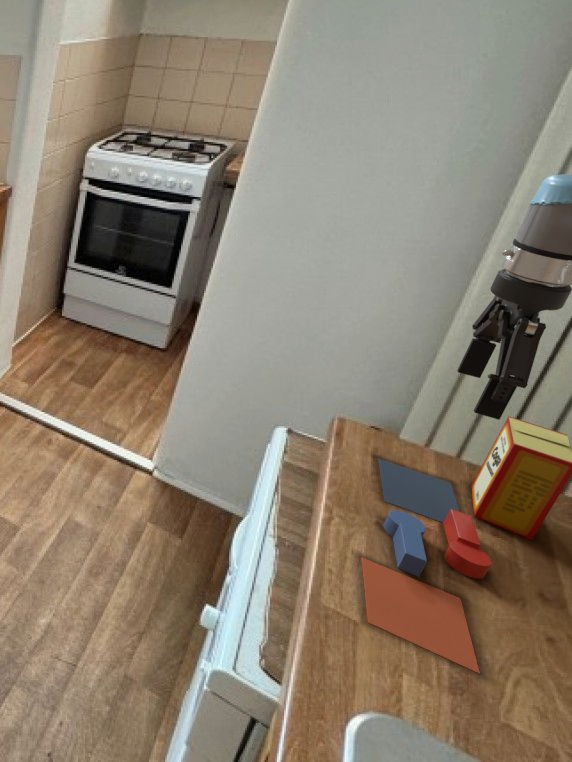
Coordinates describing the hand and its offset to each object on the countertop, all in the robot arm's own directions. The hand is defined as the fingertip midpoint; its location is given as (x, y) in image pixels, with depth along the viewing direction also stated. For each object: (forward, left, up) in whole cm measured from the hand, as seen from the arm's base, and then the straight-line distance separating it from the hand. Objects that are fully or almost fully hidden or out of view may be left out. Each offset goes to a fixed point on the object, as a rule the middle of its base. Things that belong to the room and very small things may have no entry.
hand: (476, 393), depth 98 cm
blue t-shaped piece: (+5, +19, -21) cm, 28 cm away
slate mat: (+1, +2, -21) cm, 21 cm away
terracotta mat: (+5, +32, -21) cm, 38 cm away
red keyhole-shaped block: (-2, +14, -21) cm, 25 cm away
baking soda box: (-9, -1, -21) cm, 23 cm away
